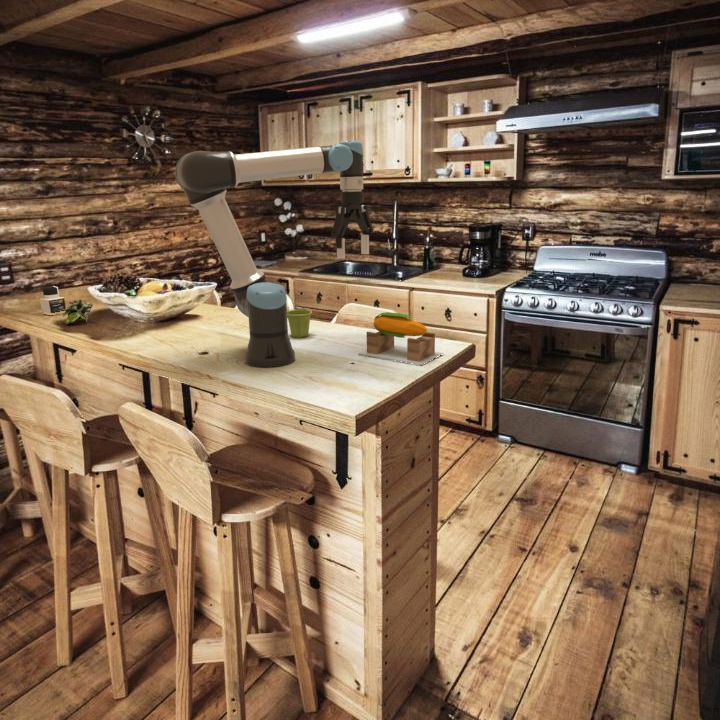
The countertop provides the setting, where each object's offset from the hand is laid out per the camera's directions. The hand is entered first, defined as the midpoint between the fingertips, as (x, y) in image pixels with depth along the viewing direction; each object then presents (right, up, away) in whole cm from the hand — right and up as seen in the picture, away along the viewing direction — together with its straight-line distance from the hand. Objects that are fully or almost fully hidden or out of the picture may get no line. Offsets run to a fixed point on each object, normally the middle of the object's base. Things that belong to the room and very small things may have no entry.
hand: (353, 256), depth 204 cm
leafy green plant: (-111, -20, +41) cm, 120 cm away
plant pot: (-19, -27, +14) cm, 36 cm away
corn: (+15, -28, -14) cm, 35 cm away
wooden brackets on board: (+15, -33, -13) cm, 39 cm away
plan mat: (+15, -33, -13) cm, 39 cm away
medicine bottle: (-131, -15, +59) cm, 144 cm away
